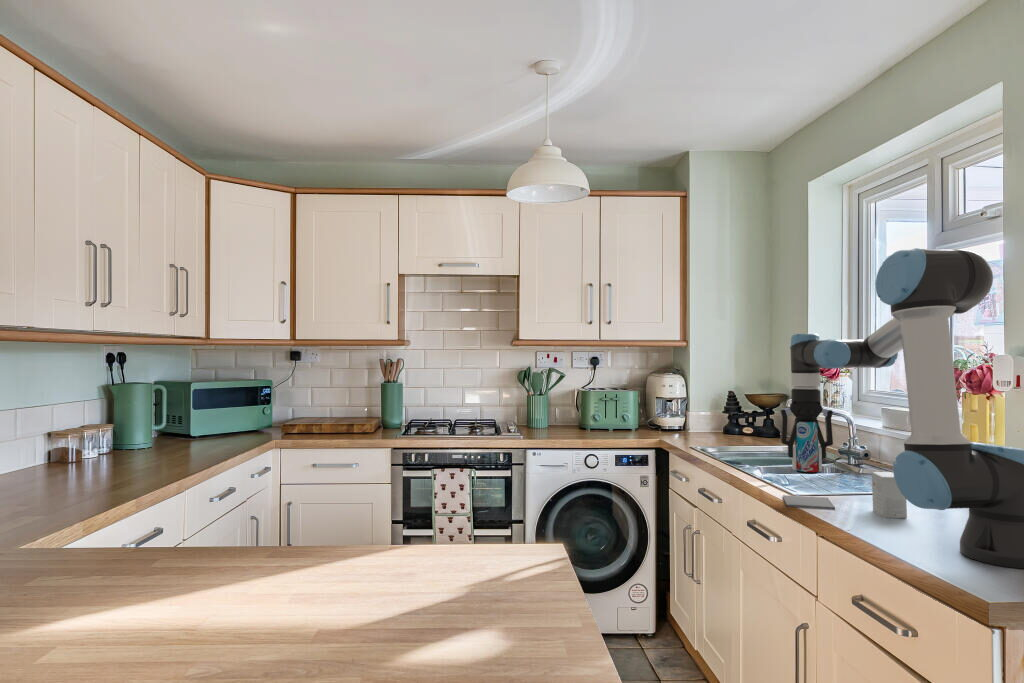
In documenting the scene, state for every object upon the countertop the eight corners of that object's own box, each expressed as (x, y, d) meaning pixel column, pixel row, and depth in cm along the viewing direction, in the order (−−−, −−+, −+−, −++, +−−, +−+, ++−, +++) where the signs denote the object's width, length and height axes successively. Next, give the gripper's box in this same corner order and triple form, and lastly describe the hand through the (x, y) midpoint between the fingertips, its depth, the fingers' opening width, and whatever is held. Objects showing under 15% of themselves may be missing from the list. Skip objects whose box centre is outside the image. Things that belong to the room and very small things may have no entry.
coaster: (835, 509, 173) (835, 507, 173) (787, 506, 177) (787, 504, 177) (827, 499, 184) (827, 497, 184) (782, 497, 188) (782, 495, 188)
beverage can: (791, 472, 181) (791, 419, 181) (801, 469, 185) (800, 418, 185) (813, 475, 177) (812, 421, 177) (822, 472, 181) (821, 419, 181)
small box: (907, 518, 163) (906, 477, 163) (883, 517, 164) (882, 476, 164) (895, 511, 171) (894, 471, 171) (872, 510, 172) (871, 471, 172)
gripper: (840, 387, 182) (841, 468, 182) (768, 386, 188) (770, 465, 187) (845, 389, 175) (846, 473, 174) (771, 388, 180) (772, 470, 180)
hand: (807, 469), depth 181 cm, fingers closed on beverage can, 6 cm apart
